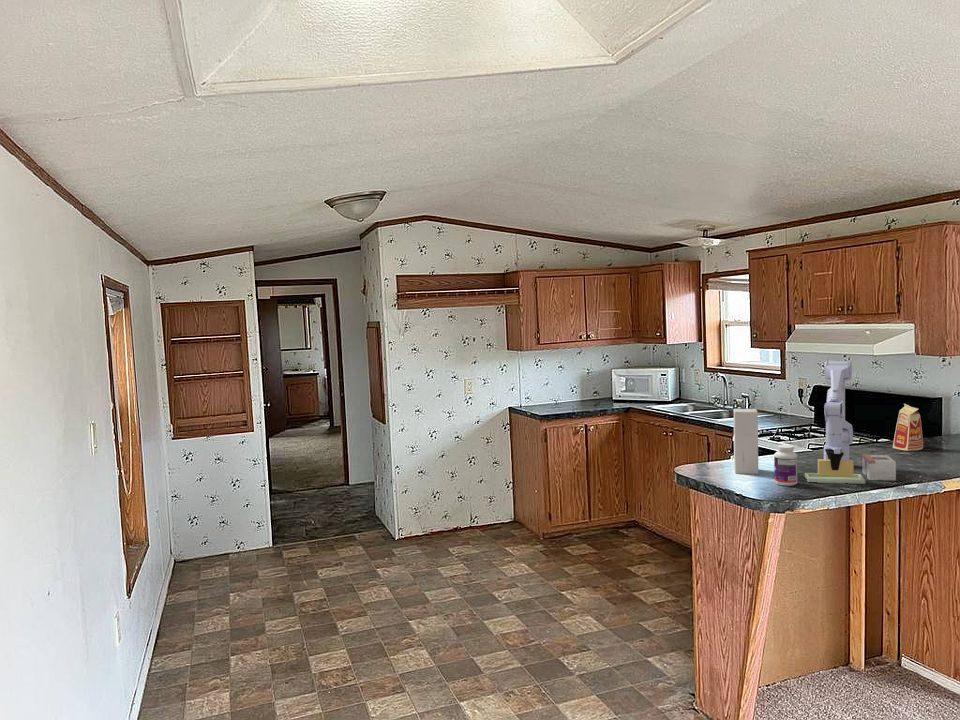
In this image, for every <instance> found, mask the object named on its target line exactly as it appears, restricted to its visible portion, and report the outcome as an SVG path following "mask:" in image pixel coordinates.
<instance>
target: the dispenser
mask: <svg viewBox="0 0 960 720" xmlns="http://www.w3.org/2000/svg"><path fill="white" fill-rule="evenodd" d="M861 455H862V457H861V460H862V461H861V462H862V463H861V465H862V468H861V470H862V471H861V472H862V474H863V475H864V476H866V478H867V479H868V480H869V481H889V482H890V481H894V482H895V481H897V462H896V461H895V460H894V459H893V458H892V457H891V456H889V455H888V454H868V453H862V454H861Z"/></svg>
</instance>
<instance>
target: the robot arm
mask: <svg viewBox="0 0 960 720" xmlns="http://www.w3.org/2000/svg"><path fill="white" fill-rule="evenodd" d="M823 370H824V375H825V378H826V380H828V381H830V386H831V387H830V388H829V389H827V391H826V392H827V393H826V402H825V403H824V406H823V408H824V410H823V411H824V421H825V444H824V445H823V459H829V460H830V462H831V468H832V470H838V469H839V465H840V461H841V460H850V445H851V444H853V442H854V430H853V425H852V424H851V423H849V422H848V421H847V420H846V384H847V381H851V380H852V379H853V362H852V361H851V360H849V361H845V360H833V361H832V360H826V361H824V369H823Z"/></svg>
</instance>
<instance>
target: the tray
mask: <svg viewBox="0 0 960 720" xmlns="http://www.w3.org/2000/svg"><path fill="white" fill-rule="evenodd" d="M804 478H805V479H807V480H806V481H807V483H808V482H817V483H816V484H845V483H848V485H849V484H851V485H852V484H854V485H866V479H865V478H864V477H863V476H862V475H861V474H860V473H859V474H858V473H853V476H831V475H818V472H816V473H815V472H804Z"/></svg>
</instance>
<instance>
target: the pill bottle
mask: <svg viewBox="0 0 960 720" xmlns="http://www.w3.org/2000/svg"><path fill="white" fill-rule="evenodd" d="M794 448H795V447H794V445H791V444H790V445H789V444H778V445H777V451H776V452H775V453H774V454H773V455H774V461H773V462H774V463H773V464H774V471H773V474H774V475H773V476H774V477H773V478H774V481H773V482H775V484H776V485H779V486H784V487H791V486H796V485H797V484H798V454H797V452H795V451H794Z"/></svg>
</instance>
